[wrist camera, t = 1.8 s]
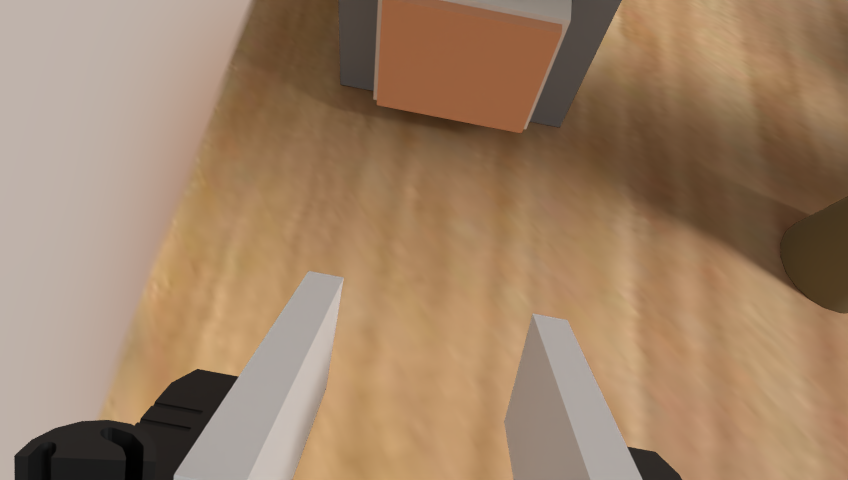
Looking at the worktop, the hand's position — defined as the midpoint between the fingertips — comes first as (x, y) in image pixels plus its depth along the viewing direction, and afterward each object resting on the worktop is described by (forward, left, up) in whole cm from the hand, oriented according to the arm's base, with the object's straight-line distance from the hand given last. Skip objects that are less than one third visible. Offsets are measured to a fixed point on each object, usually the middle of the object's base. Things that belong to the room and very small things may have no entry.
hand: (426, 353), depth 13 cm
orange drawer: (-19, -11, -14) cm, 26 cm away
